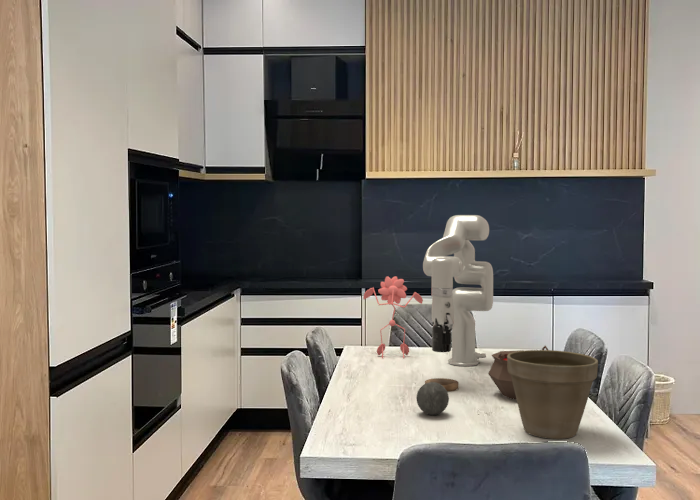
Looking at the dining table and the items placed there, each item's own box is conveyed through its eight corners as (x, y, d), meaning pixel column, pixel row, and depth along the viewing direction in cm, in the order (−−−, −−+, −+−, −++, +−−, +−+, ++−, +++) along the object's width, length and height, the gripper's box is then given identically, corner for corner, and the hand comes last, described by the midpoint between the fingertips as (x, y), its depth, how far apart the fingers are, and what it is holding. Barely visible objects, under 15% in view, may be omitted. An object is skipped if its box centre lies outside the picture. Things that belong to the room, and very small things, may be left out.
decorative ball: (415, 418, 223) (415, 385, 223) (417, 409, 233) (417, 378, 233) (448, 419, 222) (448, 386, 221) (448, 410, 232) (448, 379, 231)
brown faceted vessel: (525, 408, 234) (525, 358, 233) (473, 393, 254) (473, 346, 253) (575, 398, 247) (575, 350, 246) (522, 384, 267) (522, 339, 266)
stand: (449, 382, 270) (450, 376, 269) (464, 390, 258) (464, 384, 258) (419, 385, 266) (419, 379, 266) (433, 392, 255) (433, 386, 254)
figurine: (423, 358, 313) (423, 277, 312) (363, 358, 314) (363, 277, 313) (421, 352, 329) (421, 275, 328) (364, 352, 330) (363, 275, 329)
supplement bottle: (452, 352, 258) (452, 319, 257) (432, 352, 258) (433, 319, 257) (450, 349, 265) (450, 316, 264) (431, 349, 265) (431, 316, 264)
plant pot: (579, 419, 222) (580, 348, 221) (611, 444, 197) (612, 365, 196) (497, 420, 221) (498, 348, 220) (519, 446, 196) (519, 366, 195)
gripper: (462, 294, 253) (462, 346, 254) (441, 289, 270) (441, 338, 271) (442, 295, 251) (442, 347, 252) (422, 290, 268) (422, 339, 268)
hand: (441, 342), depth 261 cm, fingers closed on supplement bottle, 6 cm apart
